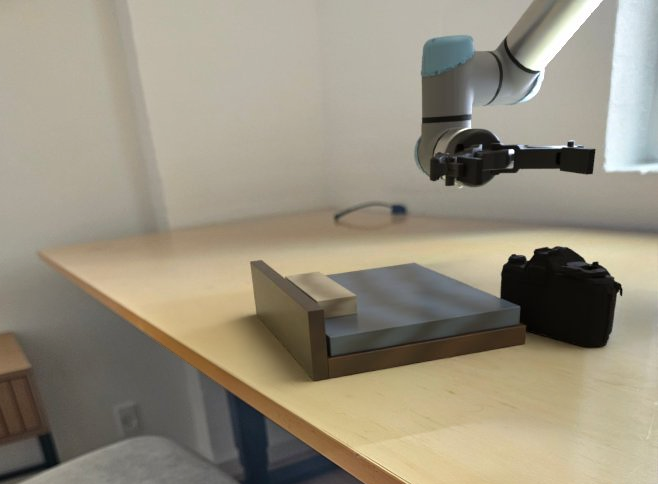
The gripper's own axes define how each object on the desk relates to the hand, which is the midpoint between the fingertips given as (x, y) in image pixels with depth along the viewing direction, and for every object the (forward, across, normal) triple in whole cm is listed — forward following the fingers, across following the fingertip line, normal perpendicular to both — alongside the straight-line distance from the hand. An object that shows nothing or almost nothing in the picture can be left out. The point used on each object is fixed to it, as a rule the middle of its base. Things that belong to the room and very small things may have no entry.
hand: (536, 166), depth 75 cm
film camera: (+10, 0, -16) cm, 19 cm away
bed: (+1, +19, -16) cm, 25 cm away
